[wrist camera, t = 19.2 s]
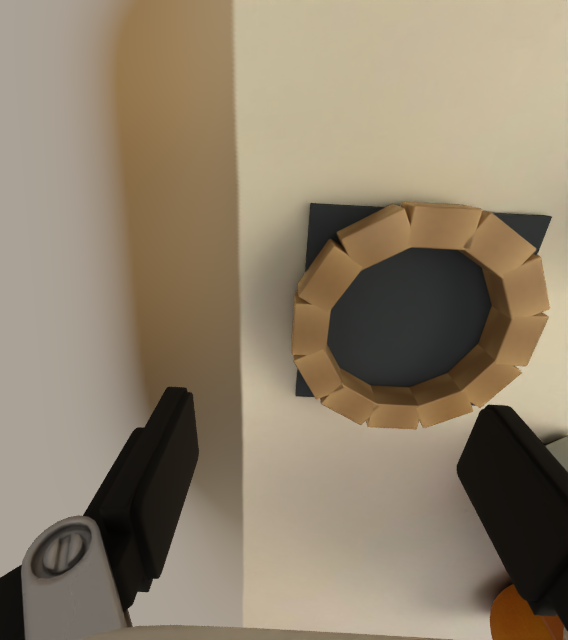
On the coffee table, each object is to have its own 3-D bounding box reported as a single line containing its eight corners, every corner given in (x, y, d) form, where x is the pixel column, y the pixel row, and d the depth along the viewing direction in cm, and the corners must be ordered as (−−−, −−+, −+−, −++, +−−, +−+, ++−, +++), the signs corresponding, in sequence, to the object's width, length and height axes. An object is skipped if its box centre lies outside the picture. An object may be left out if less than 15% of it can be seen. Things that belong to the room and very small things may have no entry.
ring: (287, 403, 23) (287, 423, 21) (300, 196, 17) (301, 199, 15) (480, 413, 23) (497, 433, 21) (563, 209, 17) (595, 214, 15)
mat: (295, 392, 23) (295, 396, 23) (310, 203, 17) (311, 203, 17) (474, 402, 23) (477, 405, 23) (547, 215, 17) (552, 216, 17)
